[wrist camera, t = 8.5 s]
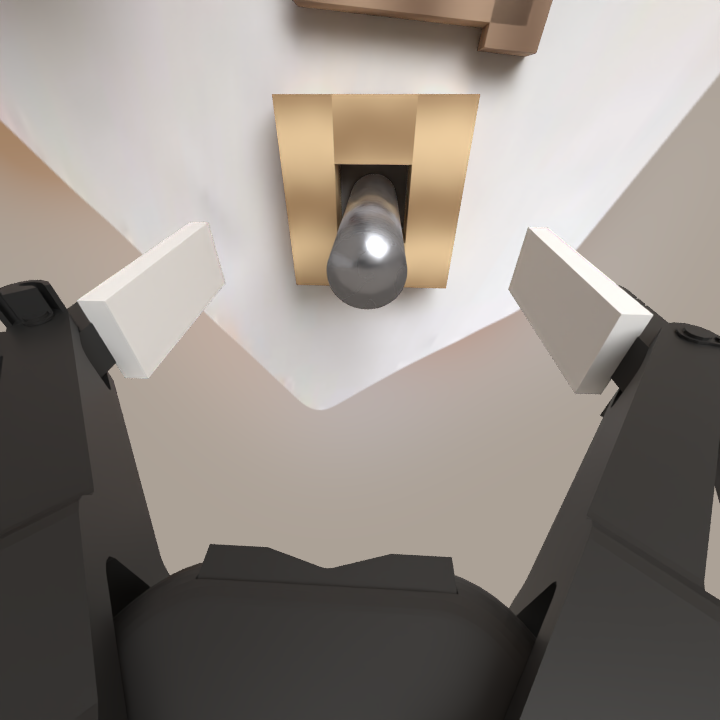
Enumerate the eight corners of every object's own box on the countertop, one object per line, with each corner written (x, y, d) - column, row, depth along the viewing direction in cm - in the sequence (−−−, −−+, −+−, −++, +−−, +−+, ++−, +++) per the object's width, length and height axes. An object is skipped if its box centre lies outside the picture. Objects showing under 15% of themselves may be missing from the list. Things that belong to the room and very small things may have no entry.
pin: (351, 172, 24) (325, 229, 14) (399, 174, 24) (412, 234, 13) (350, 222, 27) (327, 306, 16) (394, 225, 27) (402, 311, 16)
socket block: (285, 95, 22) (272, 94, 19) (467, 95, 21) (480, 94, 19) (304, 267, 29) (296, 284, 27) (439, 270, 29) (445, 288, 26)
